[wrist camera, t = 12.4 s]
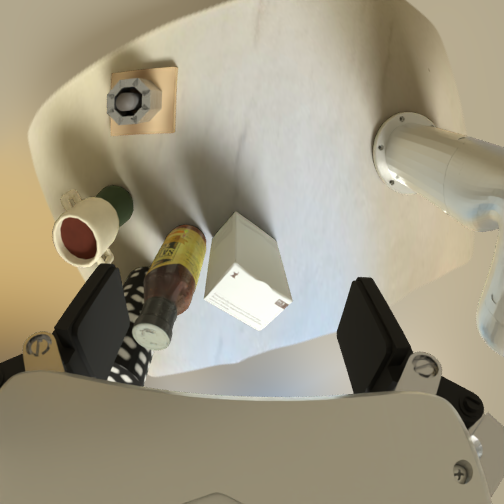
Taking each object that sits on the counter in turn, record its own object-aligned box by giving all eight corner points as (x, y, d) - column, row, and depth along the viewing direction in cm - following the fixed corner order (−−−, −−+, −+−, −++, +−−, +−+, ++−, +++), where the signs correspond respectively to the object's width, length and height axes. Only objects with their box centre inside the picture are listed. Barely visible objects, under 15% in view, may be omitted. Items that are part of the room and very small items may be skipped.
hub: (163, 79, 31) (151, 76, 27) (161, 120, 34) (149, 123, 29) (123, 83, 31) (107, 81, 27) (122, 123, 33) (106, 126, 29)
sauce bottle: (182, 214, 42) (138, 298, 24) (216, 239, 44) (196, 334, 26) (159, 245, 44) (112, 335, 26) (191, 268, 46) (163, 365, 28)
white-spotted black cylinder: (119, 273, 46) (69, 359, 29) (159, 261, 45) (116, 354, 28) (141, 310, 50) (106, 399, 33) (181, 301, 49) (154, 397, 31)
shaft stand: (177, 68, 32) (163, 61, 25) (175, 131, 36) (160, 137, 30) (116, 74, 31) (92, 70, 25) (115, 134, 36) (91, 141, 29)
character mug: (84, 183, 39) (35, 214, 27) (118, 161, 37) (71, 188, 26) (116, 241, 44) (80, 287, 32) (151, 225, 42) (119, 270, 31)
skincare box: (212, 237, 43) (196, 298, 30) (237, 207, 41) (231, 260, 28) (255, 268, 46) (257, 335, 33) (281, 241, 44) (294, 303, 31)
